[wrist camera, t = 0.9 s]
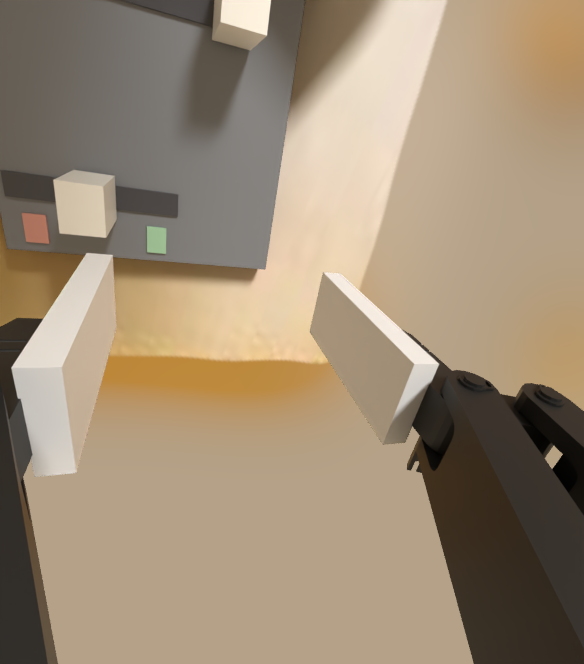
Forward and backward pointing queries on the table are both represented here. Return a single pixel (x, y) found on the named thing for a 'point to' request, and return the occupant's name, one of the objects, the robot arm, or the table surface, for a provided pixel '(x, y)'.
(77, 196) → the knob
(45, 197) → the switch panel
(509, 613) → the robot arm
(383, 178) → the table surface
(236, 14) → the knob
